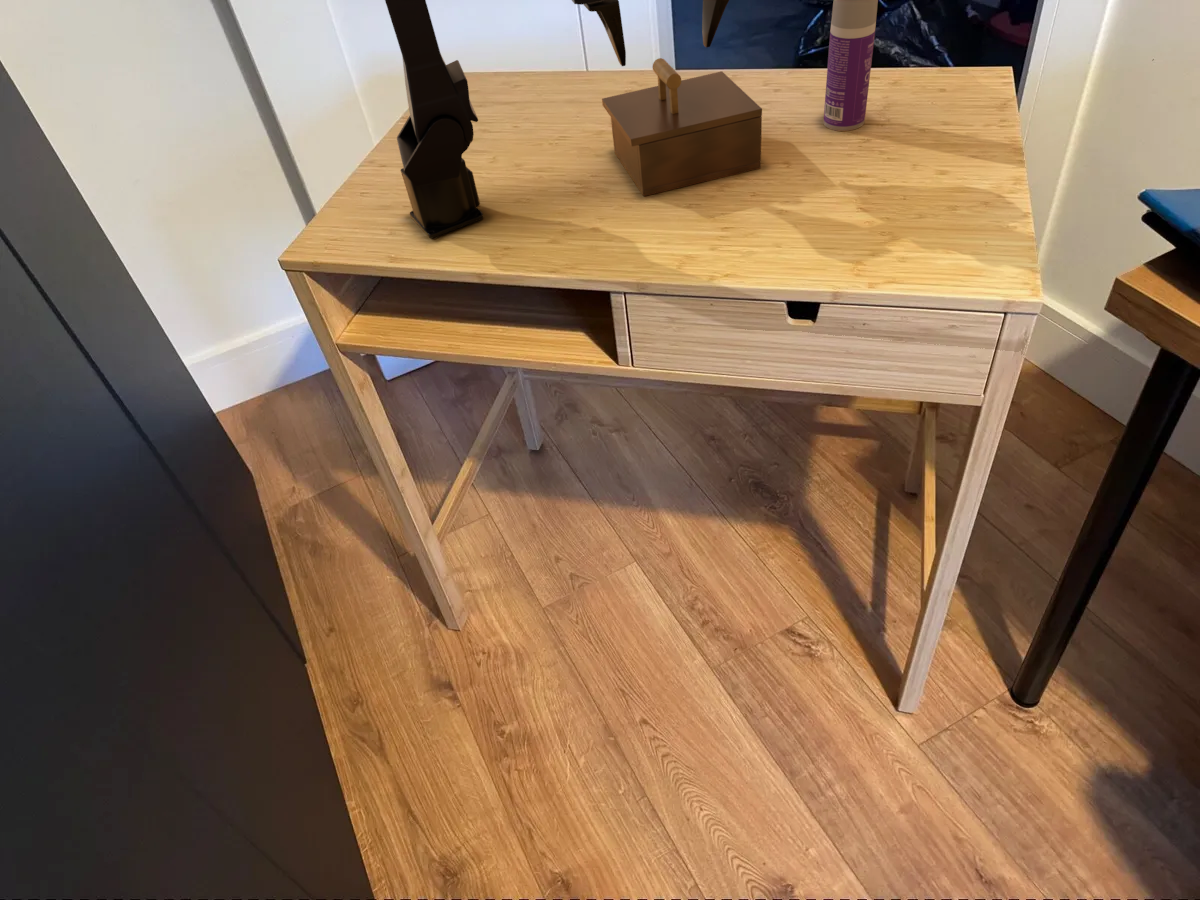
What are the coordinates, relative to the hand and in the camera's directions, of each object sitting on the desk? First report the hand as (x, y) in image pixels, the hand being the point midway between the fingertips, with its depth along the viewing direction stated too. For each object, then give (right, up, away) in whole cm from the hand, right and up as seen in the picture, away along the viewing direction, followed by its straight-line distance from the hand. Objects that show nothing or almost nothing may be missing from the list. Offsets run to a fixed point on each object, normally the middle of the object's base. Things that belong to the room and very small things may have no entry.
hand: (664, 55), depth 85 cm
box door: (+2, -4, +4) cm, 6 cm away
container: (+22, -3, +11) cm, 24 cm away
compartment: (+3, -8, +9) cm, 12 cm away
